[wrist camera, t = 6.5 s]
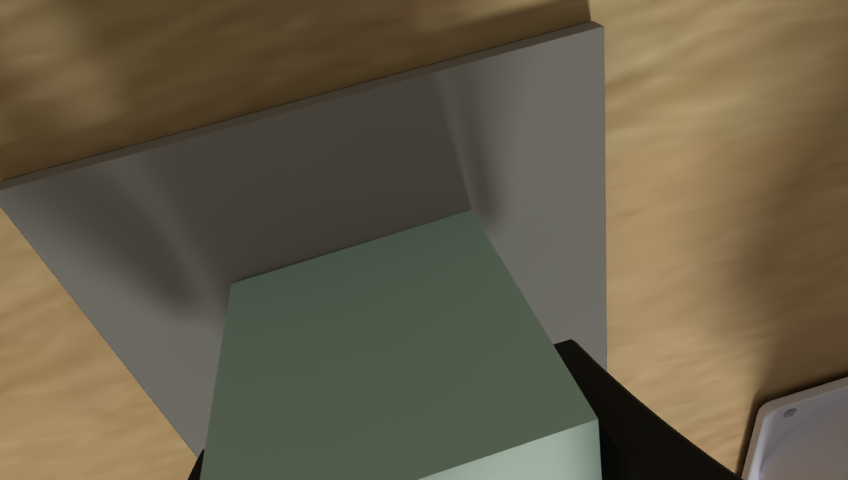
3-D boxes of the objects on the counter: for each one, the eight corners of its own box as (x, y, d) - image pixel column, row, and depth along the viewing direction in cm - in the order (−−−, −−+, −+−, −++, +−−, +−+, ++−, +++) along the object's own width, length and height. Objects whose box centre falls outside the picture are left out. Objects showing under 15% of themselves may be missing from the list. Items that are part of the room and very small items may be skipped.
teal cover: (471, 209, 12) (597, 419, 7) (504, 374, 15) (609, 600, 10) (230, 283, 12) (187, 556, 7) (314, 436, 15) (326, 702, 10)
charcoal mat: (592, 20, 11) (603, 26, 10) (599, 394, 18) (607, 407, 17) (2, 180, 10) (-11, 192, 10) (245, 503, 17) (244, 518, 17)
